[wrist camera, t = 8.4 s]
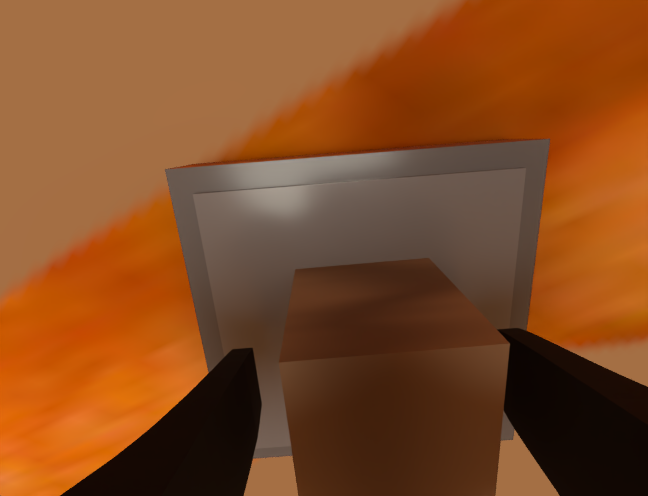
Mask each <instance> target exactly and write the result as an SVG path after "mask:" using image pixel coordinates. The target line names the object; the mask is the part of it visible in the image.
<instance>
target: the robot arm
mask: <svg viewBox="0 0 648 496" xmlns="http://www.w3.org/2000/svg"><path fill="white" fill-rule="evenodd" d="M497 330H498V331H499V332H500V333H501V335H502V336H503V337H504V338H505V339H506V340H507V341H508V342H509V343H510V348H509V359H508V369H507V379H506V390H505V400H504V412H505V414H506V416H507V418H508V419H509V421H510V423H511V424H512V426H513V427H514V429H515V430H516V432H517V433H518V435H519V436H520V438H521V439H522V441H523V442H524V444H525V445H526V447H527V448H528V450H529V451H530V453H531V454H532V456H533V457H534V458H535V460H536V461H537V463H538V464H539V466H540V467H541V469H542V470H543V472H544V473H545V475H546V476H547V477H548V479H549V480H550V482H551V483H552V485H553V486H554V488H555V489H556V490H557V492H558V494H559V495H560V496H648V387H647V386H644V385H642V384H640V383H638V382H635V381H633V380H631V379H628V378H626V377H624V376H622V375H619V374H617V373H615V372H613V371H611V370H608V369H606V368H604V367H602V366H600V365H598V364H596V363H593V362H591V361H589V360H587V359H585V358H583V357H581V356H579V355H577V354H575V353H573V352H570V351H568V350H566V349H564V348H562V347H560V346H558V345H556V344H554V343H552V342H550V341H548V340H545V339H543V338H541V337H539V336H537V335H535V334H532V333H530V332H528V331H525V330H523V329H520V328H509V329H497ZM261 408H262V401H261V395H260V389H259V383H258V376H257V370H256V364H255V358H254V352H253V348H241V349H232V350H231V351H230V352H229V353H228V354H227V355H226V356H225V357H224V358H223V359H222V360H221V361H220V362H219V363H218V364H217V365H216V366H215V367H214V368H213V369H212V370H211V371H210V372H209V373H208V375H207V376H206V377H205V378H204V379H203V380H202V381H201V382H200V383H199V384H198V385H197V386H196V387H195V388H194V389H193V390H192V391H191V392H190V393H189V394H188V395H186V396H185V397H184V398H183V399H182V400H181V401H180V402H179V403H178V404H177V405H176V406H175V407H173V408H172V409H171V410H170V411H169V412H168V413H167V414H166V415H165V416H164V417H163V418H161V419H160V420H159V421H158V422H157V423H156V424H155V425H154V426H152V427H151V428H150V429H149V430H148V431H147V432H145V433H144V434H143V435H142V436H141V437H139V438H138V439H137V440H136V441H134V442H133V443H132V444H131V445H129V446H128V447H127V448H125V449H124V450H123V451H122V452H120V453H119V454H118V455H117V456H115V457H114V458H113V459H111V460H110V461H109V462H107V463H106V464H104V465H103V466H102V467H100V468H99V469H97V470H96V471H94V472H93V473H92V474H90V475H89V476H87V477H86V478H85V479H83V480H82V481H80V482H79V483H77V484H76V485H75V486H73V487H72V488H70V489H69V490H67V491H66V492H65V493H63V494H62V495H60V496H244V491H245V488H246V484H247V480H248V475H249V472H250V468H251V464H252V460H253V456H254V451H255V447H256V443H257V439H258V432H259V425H260V417H261Z"/></svg>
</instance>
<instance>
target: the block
mask: <svg viewBox="0 0 648 496" xmlns="http://www.w3.org/2000/svg"><path fill="white" fill-rule="evenodd" d="M509 348H510V343H509V342H508V341H507V340H506V339H505V338H504V337H503V336H502V335H501V333H500V332H499V331H498V330H497V329H496V328H495V327H494V326H493V325H492V324H491V323H490V322H489V321H488V320H487V319H486V318H485V317H484V315H483V314H482V313H481V312H480V311H479V310H478V309H477V308H476V307H475V306H474V305H473V304H472V303H471V302H470V301H469V300H468V299H467V298H466V296H465V295H464V294H463V293H462V292H461V291H460V290H459V289H458V288H457V287H456V286H455V285H454V284H453V283H452V282H451V281H450V280H449V278H448V277H447V276H446V275H445V274H444V273H443V272H442V271H441V270H440V269H439V268H438V267H437V266H436V265H435V264H434V263H433V262H432V261H431V259H430V258H421V259H409V260H397V261H385V262H374V263H362V264H350V265H339V266H327V267H315V268H304V269H295V274H294V279H293V285H292V291H291V296H290V302H289V307H288V313H287V319H286V324H285V330H284V336H283V341H282V347H281V352H280V358H279V368H280V375H281V381H282V388H283V395H284V402H285V408H286V415H287V422H288V428H289V435H290V442H291V449H292V455H293V462H294V468H295V475H296V482H297V488H298V495H299V496H495V493H496V482H497V472H498V461H499V451H500V441H501V431H502V420H503V410H504V400H505V390H506V379H507V369H508V359H509Z"/></svg>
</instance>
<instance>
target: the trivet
mask: <svg viewBox="0 0 648 496" xmlns="http://www.w3.org/2000/svg"><path fill="white" fill-rule="evenodd" d="M549 144H550V139H503V140H491V141H478V142H466V143H453V144H440V145H428V146H415V147H403V148H390V149H377V150H365V151H352V152H339V153H327V154H314V155H302V156H289V157H276V158H264V159H251V160H239V161H226V162H213V163H201V164H191V165H186V166H180V167H175V168H170V169H165V172H166V176H167V181H168V186H169V190H170V195H171V199H172V204H173V209H174V213H175V218H176V223H177V227H178V232H179V237H180V241H181V246H182V251H183V255H184V260H185V265H186V269H187V274H188V279H189V283H190V288H191V292H192V297H193V302H194V306H195V311H196V316H197V320H198V325H199V330H200V334H201V339H202V344H203V348H204V353H205V358H206V362H207V367H208V372H210V371H211V370H212V369H213V368H214V367H215V366H216V365H217V364H218V363H219V362H220V361H221V360H222V359H223V358H224V357H225V356H226V355H227V354H228V353H229V352H230V351H231V350H232V349H241V348H253V352H254V358H255V364H256V370H257V376H258V383H259V389H260V395H261V401H262V408H261V417H260V425H259V432H258V439H257V443H256V447H255V451H254V456H253V459H254V458H267V457H281V456H293V455H292V449H291V442H290V435H289V428H288V422H287V415H286V408H285V402H284V395H283V388H282V381H281V375H280V368H279V358H280V352H281V347H282V341H283V336H284V330H285V324H286V319H287V313H288V307H289V302H290V296H291V291H292V285H293V279H294V274H295V269H304V268H315V267H327V266H339V265H350V264H362V263H374V262H385V261H397V260H409V259H421V258H430V259H431V261H432V262H433V263H434V264H435V265H436V266H437V267H438V268H439V269H440V270H441V271H442V272H443V273H444V274H445V275H446V276H447V277H448V278H449V280H450V281H451V282H452V283H453V284H454V285H455V286H456V287H457V288H458V289H459V290H460V291H461V292H462V293H463V294H464V295H465V296H466V298H467V299H468V300H469V301H470V302H471V303H472V304H473V305H474V306H475V307H476V308H477V309H478V310H479V311H480V312H481V313H482V314H483V315H484V317H485V318H486V319H487V320H488V321H489V322H490V323H491V324H492V325H493V326H494V327H495V328H496V329H509V328H520V329H523V330H525V331H526V330H527V322H528V314H529V306H530V298H531V290H532V282H533V273H534V265H535V257H536V249H537V241H538V233H539V225H540V217H541V209H542V200H543V192H544V184H545V176H546V168H547V160H548V152H549ZM513 436H514V427H513V426H512V424H511V423H510V421H509V419H508V418H507V416H506V414H505V412H504V410H503V420H502V431H501V440H513Z"/></svg>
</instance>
